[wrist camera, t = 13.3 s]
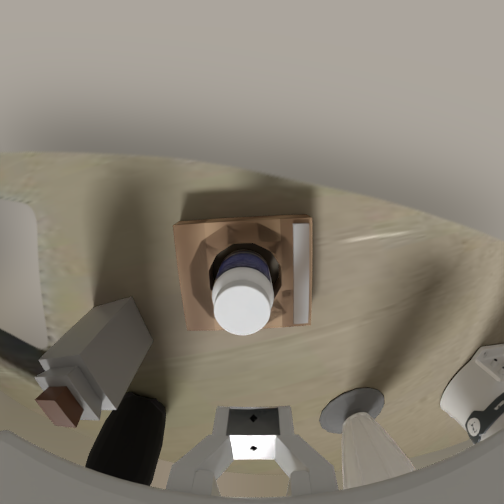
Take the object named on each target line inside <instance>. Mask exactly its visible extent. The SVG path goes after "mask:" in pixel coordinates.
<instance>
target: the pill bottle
mask: <svg viewBox="0 0 504 504" xmlns="http://www.w3.org/2000/svg"><path fill="white" fill-rule="evenodd" d="M212 301H213V304H214V315H215V318H216V320H217V322H218V323H219V325H220V326H221V327H222V328H223V329H225V330H226V331H228V332H230V333H233V334H236V335H249V334H252V333H255V332H257V331H259V330H260V329H262V328H263V327H264V326H265V325H266V323H267V322H268V320H269V317H270V313H271V308H272V305H273V302H274V290H273V286H272V281H271V276H270V271H269V267H268V264H267V262H266V261H265V259H264V258H263V257H262V256H261V255H260V254H258V253H256V252H254V251H252V250H246V249H242V250H237V251H234V252H232V253H230V254H229V255H227V256H226V257H225V258H224V260H223V261H222V263H221V265H220V268H219V271H218V274H217V277H216V280H215V283H214V286H213V290H212Z"/></svg>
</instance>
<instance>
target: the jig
mask: <svg viewBox="0 0 504 504" xmlns="http://www.w3.org/2000/svg"><path fill="white" fill-rule="evenodd" d="M173 231H174V241H175V250H176V258H177V266H178V274H179V281H180V288H181V295H182V302H183V308H184V315H185V321H186V327H187V331H198V330H225V329H223V328H222V327H221V326H220V325H219V323H218V322H217V320H216V318H215V315H214V304H213V301H212V290H213V286H214V283H215V281H214V277H213V267H212V263H213V261H214V259H215V257H216V255H217V254H218V253H220V252H221V251H223V250H224V249H226V248H227V247H229V246H230V245H232V244H239V243H255V244H257V245H259V246H261V247H263V248H265V249H267V250H269V251H271V252H272V254H273V255H274V257H275V258H276V260H277V262H278V263H279V277H278V279H277V281H276V282H275V284H274V286H273V290H274V302H273V305H272V308H271V313H270V317H269V320H268V322H267V323H266V325H265V326H264V327H263V328H277V327H291V326H304V325H311V304H312V217H310V216H308V215H307V214H301V215H276V216H255V217H236V218H219V219H204V220H190V221H179V222H178V223H176V224H174V225H173Z"/></svg>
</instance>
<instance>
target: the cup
mask: <svg viewBox="0 0 504 504" xmlns="http://www.w3.org/2000/svg"><path fill="white" fill-rule="evenodd" d="M383 405H384V396H383V395H382V394H381V393H380V391H379V390H376V389H372V388H360V389H354V390H351V391H349V392H346V393H344V394H341V395H340V396H338V397H337V398H335V399H334V400H332V401H331V402H330V403H329V404H328V405H327V406H326V407H325V409H324V410H323V411H322V414H321V417H320V420H319V421H320V423H321V426H322V428H324V429H325V430H327V431H328V432H331V433H338V434H341V433H342V471H343V489H349V488H354V487H358V486H363V485H367V484H371V483H375V482H379V481H383V480H386V479H390V478H393V477H397V476H400V475H403V474H406V473H409V472H412V471H415V470H416V469H415V468H414V466H413V464H412V463H411V461H410V460H409V459H408V457H407V456H406V455H405V454H404V452H403V451H402V450H401V449H400V447H399V446H398V445H397V444H396V442H395V441H394V440H393V439H392V437H391V436H390V435H389V434H388V433H387V432H386V431H385V430H384V429H383V427H382V426H381V425H380V424H379V423H378V422H377V421H376V420H374V419H375V418H376V417H377V416H378V415H379V413H380V412H381V410H382V408H383Z"/></svg>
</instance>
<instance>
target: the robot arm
mask: <svg viewBox="0 0 504 504" xmlns="http://www.w3.org/2000/svg"><path fill="white" fill-rule="evenodd" d="M440 406H441V409H442V410H444V411H445V412H447V413H448V414H449V416H450V417H451V418H454V419H455V420H456V421H457V422H458V423H459V424H460V425H461V426H462V427H463V428H464V429H465V430H466V431H467V432H468V435H469V437H470V439H471V440H472V442H473V444H475V445H473V446H471V447H469V448H467V449H465V450H463V451H461V452H459V453H457V454H454V455H452V456H450V457H448V458H446V459H443V460H441V461H438V462H436V463H434V464H431V465H429V466H426V467H423V468H421V469H418V470H415V471H412V472H409V473H406V474H403V475H400V476H397V477H393V478H390V479H386V480H383V481H379V482H375V483H371V484H367V485H363V486H358V487H354V488H349V489H343V490H338V485H337V480H336V476H335V471H334V466H333V465H332V464H330V463H329V462H328V461H327V460H326V459H325V458H324V457H322V456H321V455H320V454H319V453H318V452H317V451H316V450H314V449H313V448H312V447H311V446H310V445H309V444H308V443H307V442H306V441H304V440H303V439H302V438H301V437H300V436H299V435H294V427H293V419H292V411H291V407H290V406H273V407H225V406H218V407H217V409H216V414H215V420H214V426H213V432H212V435H208V436H207V437H205V438H204V439H203V440H202V441H201V442H200V443H198V444H197V445H196V446H195V447H194V448H193V449H191V450H190V451H189V452H188V453H187V454H185V455H184V456H183V457H182V458H181V459H179V460H178V461H177V462H176V463H174V464H173V465H172V468H171V471H170V475H169V479H168V482H167V486H166V489H161V488H156V487H151V486H147V485H143V484H138V483H134V482H131V481H127V480H123V479H120V478H116V477H113V476H110V475H106V474H103V473H100V472H97V471H95V470H92V469H89V468H86V467H84V466H81V465H78V464H76V463H73V462H71V461H68V460H66V459H64V458H61V457H59V456H57V455H55V454H53V453H51V452H48V451H46V450H44V449H42V448H40V447H38V446H36V445H35V444H33V443H31V442H29V441H27V440H25V439H24V438H22V437H20V436H18V435H17V434H15V433H13V432H11V431H9V430H3V431H0V504H504V344H498V345H490V346H483V347H481V348H479V350H478V351H477V352H476V353H475V355H474V356H473V358H472V359H471V360H470V361H469V362H468V363H467V364H466V365H465V366H464V367H463V368H462V369H461V370H460V371H459V372H458V373H457V374H456V375H455V377H454V378H453V379H452V380H451V382H450V383H449V385H448V386H447V388H446V389H445V391H444V393H443V395H442V398H441V402H440ZM234 459H275V461H276V462H277V463H278V464H279V466H280V467H281V468H282V469H283V471H284V472H285V473H286V474H287V475H288V477H289V478H290V479H289V485H288V490H287V495H286V497H260V498H259V497H255V498H254V497H253V498H252V497H223V496H221V495H220V492H219V489H218V486H217V483H216V480H217V479H218V478H219V477H220V476H221V474H222V473H223V472H224V471H225V470H226V469H227V468H228V466H229V465H230V464H231V463H232V462H233V460H234Z"/></svg>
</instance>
